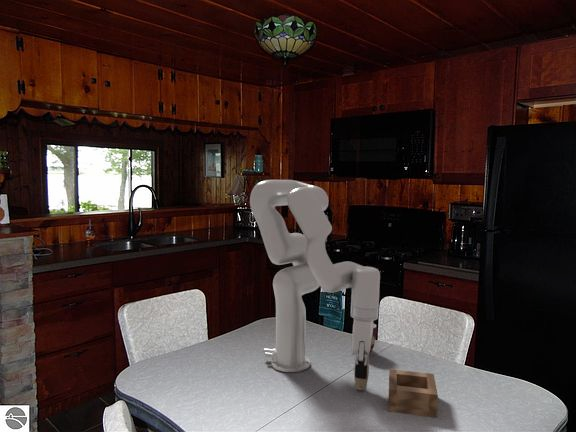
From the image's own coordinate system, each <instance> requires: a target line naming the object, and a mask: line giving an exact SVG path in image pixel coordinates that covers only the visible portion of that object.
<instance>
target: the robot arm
mask: <svg viewBox="0 0 576 432" xmlns="http://www.w3.org/2000/svg"><path fill="white" fill-rule="evenodd" d="M249 206H250V209H251V212H252V215H253V218H254V219H255V221H256V223H257V226H258V229H259V231H260V235H261V238H262V241H263V244H264V248H265V250H266V253H267V256H268V258H269V260H270V262H271V263H272V264H274V265H278V266H280V265H286V264H287V265H288V264H292V266H288V267H285V268H283V269H280V270H278V272H276V274H275V275H274V277H273V280H272V287H273V293H274V298H275V347H273V348H265V347H264V348H263V350H262V351H263V352H262V353H263V354H264V357H265V358H271V359H270V365H271V367H272V368H273V369H274V370H277V371H279V372H284V373H299V372H302V371H304V370H308V369H309V367H310V365H311V360H310V358H309V357H308V356H306V339H307V338H306V330H307V329H306V328H307V326H306V325H307V323H306V322H307V317H306V316H307V315H306V314H307V313H306V310H307V309H306V306H305V303H304V301H303V297H302V296H304V295H305V294H309V293H312V292H314V291H316V290H318V288H321V289H322V290H323V291H325V292H327V293H337V292H340V291H343V290H346V289H351V298H350V299H351V300H350V301H351V302H350V317H351V318H353V323H354V324H352V335H353V338H352V337H351V355H356V352H357V359H356V358H355V360H356V365H355V364H354V370H355V376H354V379H355V378H360V379H366V378H367V365H366V363H367V356H368V355H369V356H370V354H371V353H370V348H371V341H372V333H373V323H374V321H376V320H378V319H379V307H380V306H379V303H380V287H381V286H380V284H381V281H380V280H381V273H380V271H379V269H378V268H376V267H373V266H363V265H361V264H359V263H356V262H353V261H342V262H337V263H333V262H332V261H331V259H330V256H329V255H328V253H327V250H326V240H327V238H328V236H329V235H330V234H331V233H332V230H333V227H332V224H331V222H330V221H329V219H328V217H327V215H326V213H325V212H324V211H326V210H327V208H328V207H329V196H328V194H327V192H326V191H325V190H324V189H323V188H322V187H319V186H317V185H312V184H308V183H305V182H302V181H299V180H293V179H265V180H262V181H260V182H258V183H256V184H255V185H254V187H253V188H252V190H251V193H250V196H249ZM282 206H284V207H285V206H288V208H289V210H290V212H291V214H292V215H293V217H294V219H295V221H296V223H297V225H298V227H299V228H300V230H301V232H302V233H303V234H302V233H300V232H293V233H291V232H289V230H288V228H287V226H286V225H287V224H286V222H285V220H284V218H283V216H282V215H281V214H280V213H279V211H278V210H277V209H276V207H282ZM364 343H365V346H364ZM358 351H359V353H358ZM364 352H366V354H364ZM369 353H370V354H369ZM363 357H365V359H364V358H363Z"/></svg>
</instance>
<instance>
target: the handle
mask: <svg viewBox="0 0 576 432" xmlns="http://www.w3.org/2000/svg"><path fill="white" fill-rule="evenodd" d="M352 338H353V334H352V335H351V339H352ZM375 342H376V339H375V337H374V336H372V341H371V345H373V344H374V345H375ZM364 346H365V343H364ZM358 353H359V351H358ZM364 354H366V352H364ZM369 356H370V354H369V355H368V356H367V363H366V365H367V378H366V379H360V378H355V369H354V371H353V372H354V374H353V375H354V376H353V377H354V388H355V389H357V390H359V391H365V390H367V385H368V380H369V374H370V372H369V371H370V363H369V362H370V359H369V358H370V357H369ZM363 358H364V359H365V357H363ZM356 359H357V352H356V354H355V363H354V366H355V365H356Z"/></svg>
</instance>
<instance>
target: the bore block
mask: <svg viewBox="0 0 576 432" xmlns="http://www.w3.org/2000/svg"><path fill="white" fill-rule="evenodd" d="M438 396H439V395H438V389H437V384H436V379H435V374H434V373H430V372H429V373H427V372H418V371H410V370H398V369H391V368H390V369H389V373H388V398H387V399H388V402H387V403H388V404H387V407H388V408H387V412H390V413H392V412H393V413H400V414H408V415H415V416H421V417H423V416H424V417H429V418H438Z"/></svg>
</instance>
